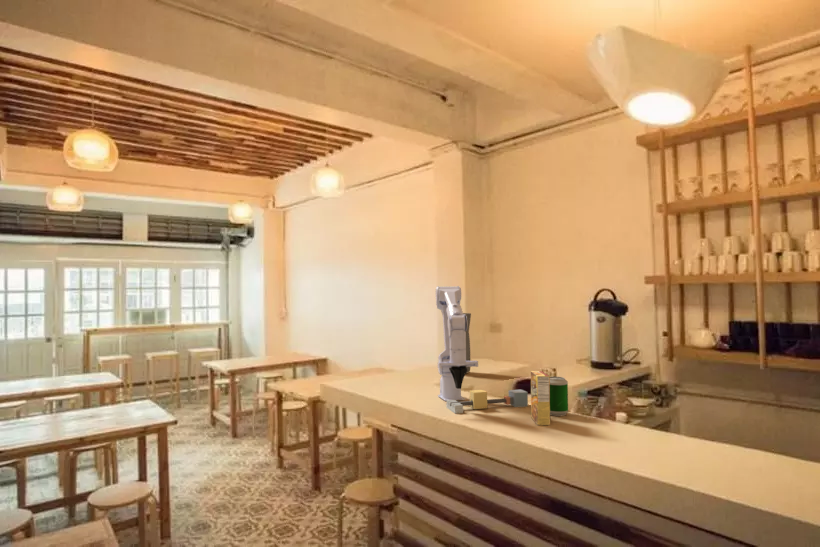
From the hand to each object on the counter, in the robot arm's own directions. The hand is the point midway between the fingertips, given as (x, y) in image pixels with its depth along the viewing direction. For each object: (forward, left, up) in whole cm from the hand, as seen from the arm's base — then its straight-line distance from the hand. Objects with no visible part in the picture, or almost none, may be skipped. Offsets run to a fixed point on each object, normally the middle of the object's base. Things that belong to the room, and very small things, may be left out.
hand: (458, 388), depth 171 cm
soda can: (+15, +30, -8) cm, 34 cm away
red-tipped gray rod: (0, +9, -7) cm, 11 cm away
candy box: (+22, +20, -8) cm, 30 cm away
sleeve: (0, +8, -8) cm, 11 cm away
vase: (-70, +27, -8) cm, 75 cm away
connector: (0, +23, -8) cm, 24 cm away
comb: (0, -1, -8) cm, 8 cm away
